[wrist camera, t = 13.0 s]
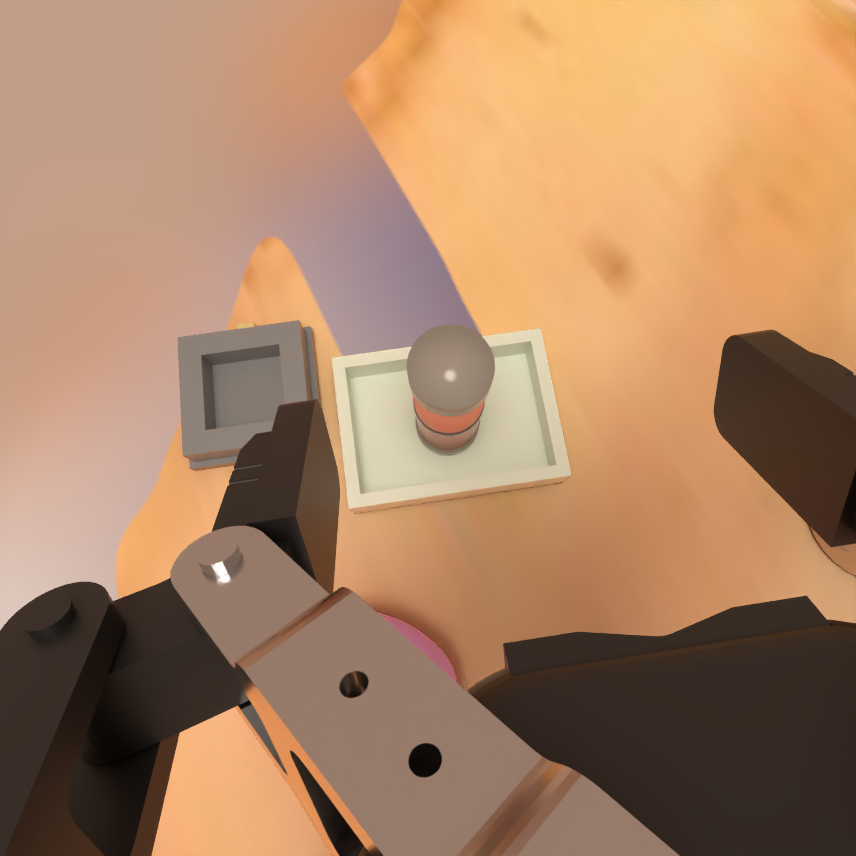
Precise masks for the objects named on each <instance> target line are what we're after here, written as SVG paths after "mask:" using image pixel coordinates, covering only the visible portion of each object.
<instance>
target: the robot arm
mask: <svg viewBox="0 0 856 856" xmlns="http://www.w3.org/2000/svg"><path fill="white" fill-rule="evenodd" d="M714 417H715V422H716V425H717V428H718V430H719V432H720V434H721V435H722V437H723V438H724V439H725V440H726V441H727V442H728V443H729V444H730V445H731V446H732V447H733V448H734V449H735V450H736V451H737V452H738V453H739V454H740V455H741V456H742V457H743V458H744V459H745V460H746V461H747V462H748V463H749V464H750V465H751V466H752V467H753V468H754V470H755V471H756V472H757V473H758V474H759V475H760V476H761V477H762V478H763V479H764V480H765V481H766V482H767V483H768V484H769V485H770V486H771V487H772V488H773V489H774V490H775V491H776V492H777V493H778V494H779V495H780V496H781V497H782V498H783V499H784V500H785V501H786V502H787V503H788V504H789V505H790V506H791V507H792V508H793V509H794V510H795V511H796V513H797V514H798V515H799V516H800V517H801V518H802V519H803V520H804V521H805V522H806V523H807V524H808V525H809V526H810V527H811V530H812V532H813V535H814V537H815V539H816V540H817V542H818V543H819V545H820V546H821V548H822V549H823V551H824V552H825V553H826V554H827V555H828V556H829V557H830V558H831V559H832V560H833V561H834V562H835V563H836V564H837V565H839V566H840V567H841V568H843V569H844V570H845V571H847V572H848V573H850V574H852V575H854V576H856V375H855V376H854V375H853V372H852V371H850V370H849V369H847V368H845V367H844V366H842V365H840V364H839V363H837V362H836V361H834V360H832V359H829V358H826V357H823V356H820V355H817V354H814V353H811V352H809V351H807V350H805V349H804V348H802V347H801V346H799V345H798V344H796V343H794V342H793V341H791V340H790V339H788V338H786V337H785V336H783V335H782V334H780V333H778V332H777V331H775V330H765V331H759V332H752V333H746V334H739V335H733V336H730V337H729V338H728V339H727V340H726V342H725V344H724V347H723V351H722V357H721V364H720V371H719V377H718V384H717V390H716V397H715V403H714ZM339 501H340V485H339V476H338V470H337V465H336V461H335V457H334V454H333V450H332V446H331V442H330V438H329V434H328V430H327V427H326V423H325V419H324V415H323V411H322V408H321V405H320V403H319V401H318V399H314V400H307V401H301V402H294V403H288V404H281V405H279V406H278V409H277V413H276V416H275V420H274V424H273V427H272V431H269V432H263V433H256V434H255V435H254V436H253V437H252V438H251V439H250V440H249V441H248V442H247V443H246V444H245V445H244V447H243V448H242V449H241V450H240V452H239V454H238V457H237V460H236V463H235V466H234V471H233V472H232V475H231V478H230V480H229V485H228V486H227V489H226V492H225V495H224V498H223V501H222V504H221V506H220V509H219V512H218V515H217V518H216V521H215V524H214V527H213V530H212V532H211V533H208V534H206V535H204V536H202V537H201V538H199V539H197V540H196V541H194V542H193V543H192V544H190V545H189V546H188V547H187V548H186V549H185V550H184V551H183V552H182V553H181V554H180V555H179V556H178V558H177V559H176V561H175V562H174V564H173V567H172V569H171V576H170V577H171V578H169V579H167V580H166V581H163V582H161V583H159V584H156V585H154V586H151V587H149V588H146V589H144V590H141V591H138V592H136V593H133V594H131V595H128V596H125V597H123V598H120V599H118V600H115V601H112V599H111V597H110V596H109V594H108V592H107V591H106V589H105V588H104V587H103V586H101V585H99V584H97V583H92V582H77V583H71V584H67V585H63V586H60V587H58V588H55V589H53V590H50V591H48V592H46V593H44V594H42V595H40V596H39V597H37V598H35V599H34V600H32V601H31V602H29V603H28V604H26V605H25V606H24V607H22V608H21V609H20V610H19V611H18V612H16V613H15V614H14V615H13V616H12V617H11V618H10V619H9V620H8V622H7V623H6V624H5V625H4V626H3V628H2V629H1V631H0V856H151V855H152V851H153V846H154V842H155V838H156V833H157V829H158V824H159V820H160V816H161V811H162V807H163V803H164V798H165V794H166V790H167V785H168V781H169V776H170V772H171V768H172V763H173V759H174V755H175V750H176V746H177V742H178V737H179V733H180V732H182V731H184V730H186V729H188V728H190V727H192V726H195V725H197V724H199V723H201V722H203V721H205V720H207V719H210V718H212V717H214V716H216V715H218V714H220V713H223V712H225V711H227V710H229V709H231V708H233V707H236V709H237V710H238V712H239V713H240V715H241V716H242V718H243V719H244V720H245V722H246V723H247V725H248V726H249V728H250V729H251V731H252V732H253V734H254V735H255V736H256V738H257V739H258V741H259V742H260V744H261V745H262V747H263V748H264V750H265V751H266V752H267V754H268V755H269V757H270V758H271V760H272V761H273V763H274V764H275V766H276V767H277V768H278V770H279V771H280V773H281V774H282V776H283V777H284V779H285V780H286V782H287V783H288V784H289V786H290V787H291V789H292V790H293V792H294V794H295V795H296V797H297V798H298V800H299V802H300V803H301V805H302V807H303V808H304V810H305V812H306V814H307V815H308V817H309V819H310V820H311V822H312V824H313V825H314V827H315V829H316V830H317V832H318V833H319V835H320V837H321V838H322V840H323V841H324V843H325V844H326V846H327V847H328V849H329V850H330V852H331V853H332V855H333V856H856V623H849V622H842V621H836V620H826V618H825V617H824V616H823V615H822V614H821V612H820V611H819V610H818V609H817V608H816V606H815V605H814V604H813V603H812V602H811V601H810V599H809V598H808V597H807V596H802V597H796V598H789V599H783V600H777V601H770V602H764V603H758V604H751V605H745V606H739V607H732V608H730V609H728V610H725V611H723V612H721V613H718V614H716V615H714V616H711V617H709V618H707V619H704V620H702V621H700V622H698V623H695V624H693V625H691V626H688V627H686V628H684V629H681V630H679V631H677V632H674V633H672V634H669V635H666V636H639V635H623V634H606V633H589V632H574V633H567V634H561V635H555V636H548V637H542V638H536V639H529V640H523V641H517V642H510V643H504V644H503V647H504V658H505V669H502V670H500V671H498V672H496V673H493V674H492V675H490V676H488V677H486V678H485V679H483V680H481V681H480V682H478V683H477V684H475V685H474V686H473V687H471V688H470V689H469V690H467V691H466V690H465V689H464V688H462V687H461V686H460V685H459V684H458V683H457V682H456V681H455V680H453V679H452V678H451V677H450V676H449V675H448V674H447V673H445V672H444V671H443V670H442V669H441V668H440V667H439V666H437V665H436V664H435V663H434V662H433V661H432V660H431V659H429V658H428V657H427V656H426V655H425V654H424V653H423V652H422V651H420V650H419V649H418V648H417V647H416V646H415V645H414V644H412V643H411V642H410V641H409V640H408V639H407V638H406V637H404V636H403V635H402V634H401V633H400V632H399V631H398V630H396V629H395V628H394V627H393V626H392V625H391V624H390V623H389V622H387V621H386V620H385V619H384V618H383V617H382V616H381V615H379V614H378V613H377V612H376V611H375V610H374V609H373V608H371V607H370V606H369V605H368V604H367V603H366V602H365V601H363V600H362V599H361V598H360V597H359V596H358V595H357V594H355V593H354V592H353V591H351V590H350V589H348V588H345V587H341V588H339V589H338V590H337V591H335V592H334V593H333V585H334V571H335V557H336V543H337V529H338V515H339Z"/></svg>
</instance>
